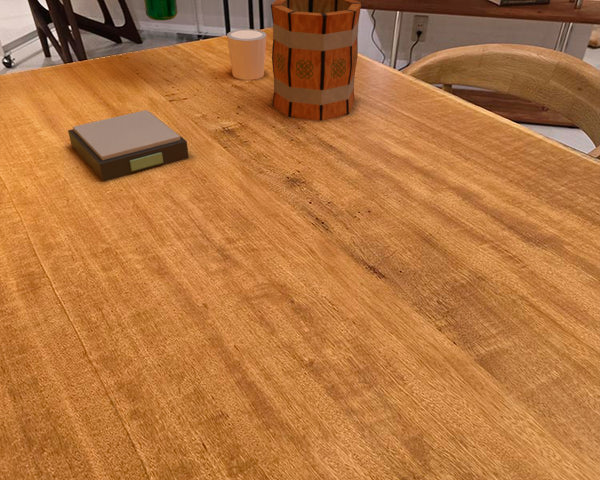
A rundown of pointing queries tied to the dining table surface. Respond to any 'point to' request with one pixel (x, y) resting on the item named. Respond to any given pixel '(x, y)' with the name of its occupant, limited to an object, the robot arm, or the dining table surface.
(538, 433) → the dining table surface
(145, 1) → the soda can
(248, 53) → the white cup
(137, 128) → the scale
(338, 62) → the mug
